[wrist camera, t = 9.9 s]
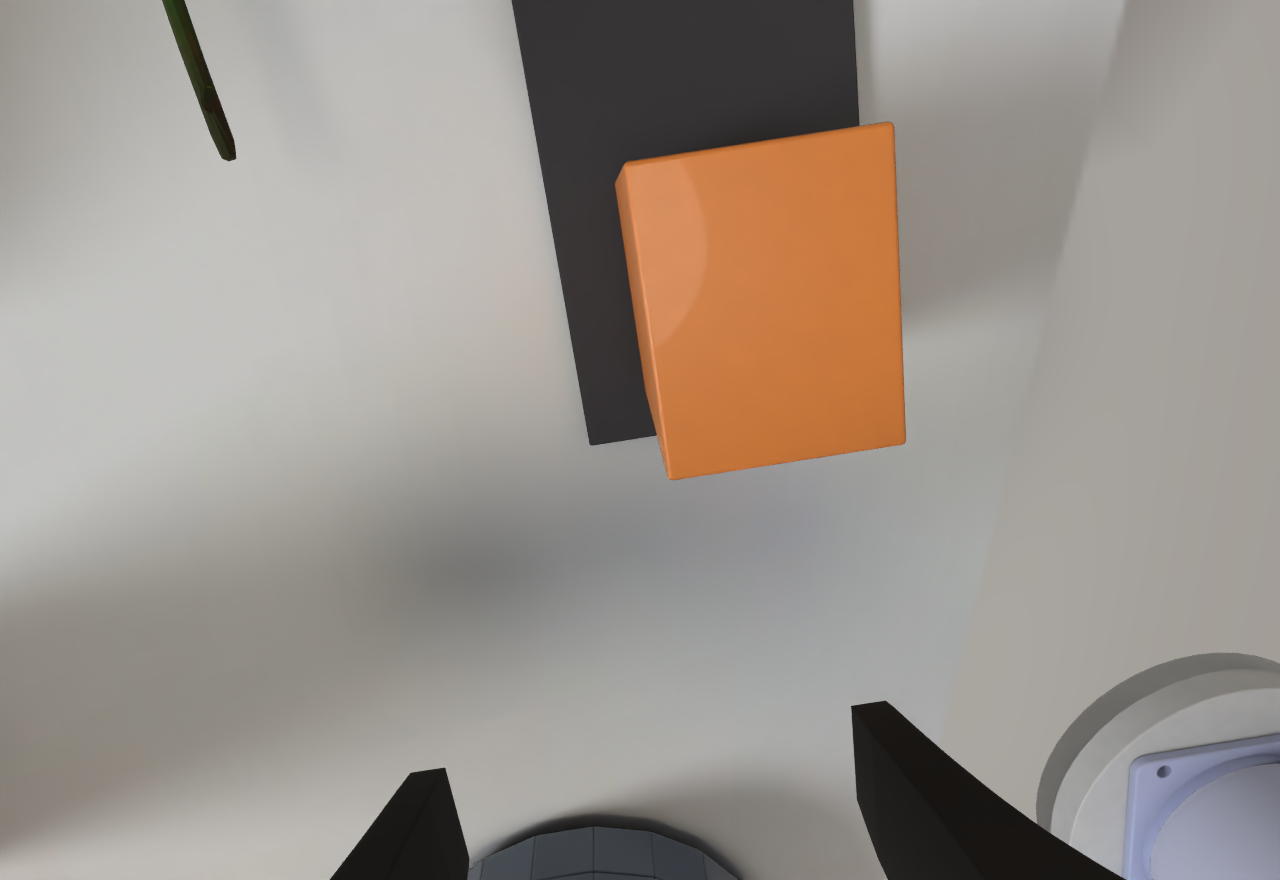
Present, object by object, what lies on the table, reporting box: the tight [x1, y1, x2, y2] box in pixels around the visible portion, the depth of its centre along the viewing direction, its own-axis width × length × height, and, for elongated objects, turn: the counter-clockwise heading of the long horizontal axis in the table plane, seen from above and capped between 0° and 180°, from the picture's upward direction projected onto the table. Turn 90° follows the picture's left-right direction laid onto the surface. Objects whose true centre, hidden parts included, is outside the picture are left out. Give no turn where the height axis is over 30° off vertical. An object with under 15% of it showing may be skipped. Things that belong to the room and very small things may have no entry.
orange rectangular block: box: [615, 122, 906, 480], centre depth 16 cm, size 4×6×7 cm
